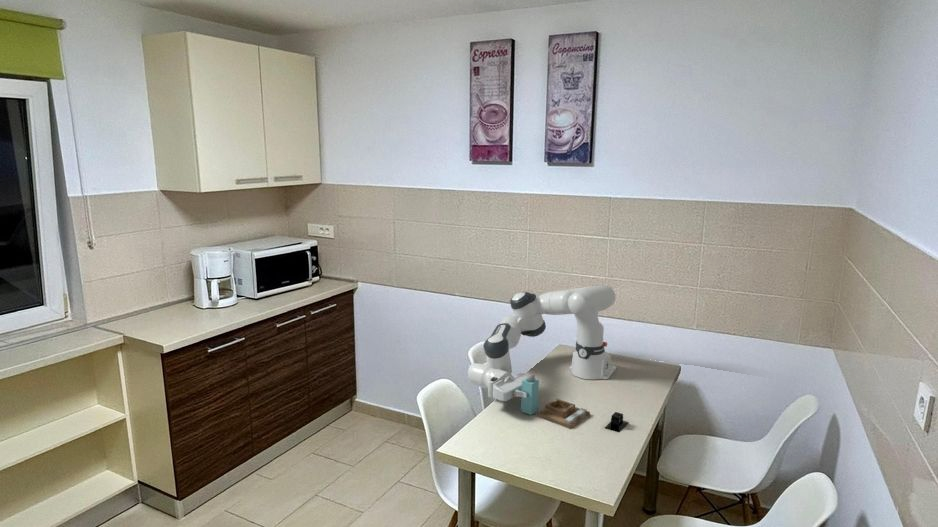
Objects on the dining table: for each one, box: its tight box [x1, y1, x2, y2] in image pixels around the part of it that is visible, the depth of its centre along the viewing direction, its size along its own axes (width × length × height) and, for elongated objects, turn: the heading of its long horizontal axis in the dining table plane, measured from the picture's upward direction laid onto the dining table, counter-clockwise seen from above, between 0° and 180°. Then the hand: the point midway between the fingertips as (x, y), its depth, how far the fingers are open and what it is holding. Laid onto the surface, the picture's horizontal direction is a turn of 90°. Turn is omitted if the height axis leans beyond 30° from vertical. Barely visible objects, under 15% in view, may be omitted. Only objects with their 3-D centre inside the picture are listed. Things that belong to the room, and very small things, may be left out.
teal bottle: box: [520, 373, 540, 416], centre depth 200 cm, size 4×4×14 cm
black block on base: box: [604, 411, 630, 433], centre depth 192 cm, size 12×7×5 cm, turn 143°
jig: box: [536, 398, 591, 430], centre depth 199 cm, size 14×14×4 cm
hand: (532, 392), depth 199 cm, fingers closed on teal bottle, 4 cm apart
